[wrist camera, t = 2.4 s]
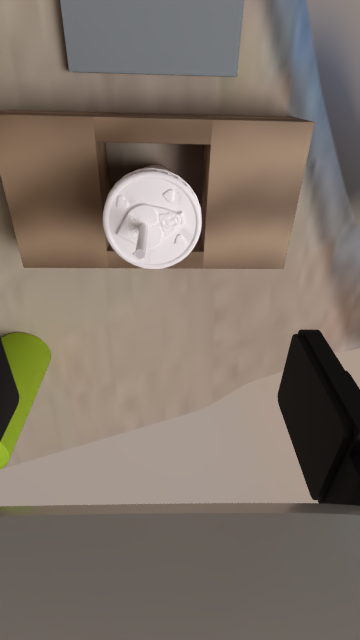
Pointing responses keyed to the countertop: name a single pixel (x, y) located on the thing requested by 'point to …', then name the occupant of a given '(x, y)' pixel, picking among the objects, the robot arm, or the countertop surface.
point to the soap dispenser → (23, 382)
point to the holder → (98, 128)
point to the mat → (153, 36)
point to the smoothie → (152, 218)
